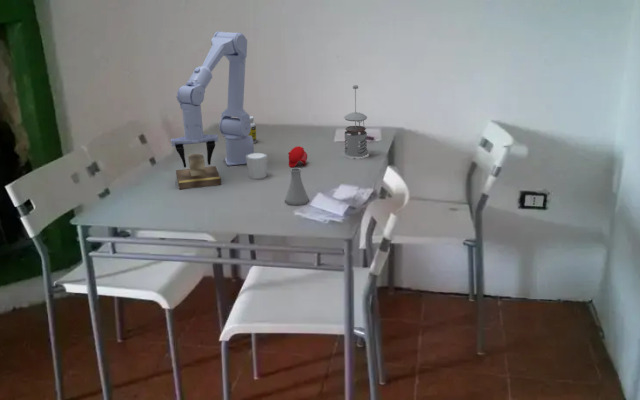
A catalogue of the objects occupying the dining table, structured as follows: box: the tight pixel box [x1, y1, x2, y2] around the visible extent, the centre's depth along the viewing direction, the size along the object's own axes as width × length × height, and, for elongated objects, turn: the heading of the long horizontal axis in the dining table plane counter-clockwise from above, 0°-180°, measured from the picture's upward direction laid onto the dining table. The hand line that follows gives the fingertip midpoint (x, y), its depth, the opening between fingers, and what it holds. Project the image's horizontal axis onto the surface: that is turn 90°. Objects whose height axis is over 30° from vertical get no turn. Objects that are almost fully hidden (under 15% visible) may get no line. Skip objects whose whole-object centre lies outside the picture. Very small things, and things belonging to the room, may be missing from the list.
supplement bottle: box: [248, 115, 257, 144], centre depth 253 cm, size 5×5×10 cm
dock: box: [175, 165, 222, 190], centre depth 215 cm, size 13×13×2 cm
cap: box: [288, 145, 308, 169], centre depth 227 cm, size 8×6×6 cm
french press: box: [342, 84, 369, 157], centre depth 233 cm, size 10×12×25 cm
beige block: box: [187, 152, 206, 178], centre depth 214 cm, size 5×6×6 cm
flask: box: [284, 167, 310, 206], centre depth 195 cm, size 7×7×10 cm
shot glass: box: [246, 152, 268, 180], centre depth 217 cm, size 7×7×7 cm
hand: (197, 165), depth 214 cm, fingers open, 7 cm apart
